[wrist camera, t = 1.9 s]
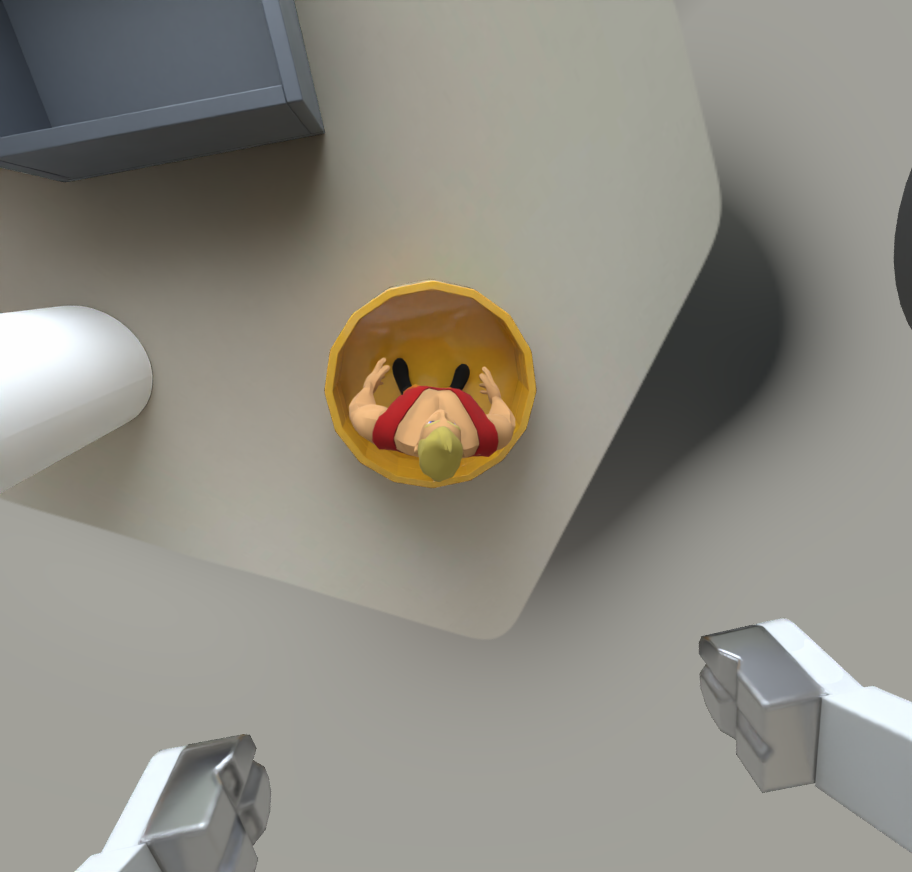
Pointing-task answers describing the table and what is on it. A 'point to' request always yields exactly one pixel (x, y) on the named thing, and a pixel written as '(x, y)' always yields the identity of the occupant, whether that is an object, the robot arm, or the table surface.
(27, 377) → the cup
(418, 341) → the bowl
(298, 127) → the container
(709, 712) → the robot arm
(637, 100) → the table surface
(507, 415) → the action figure
